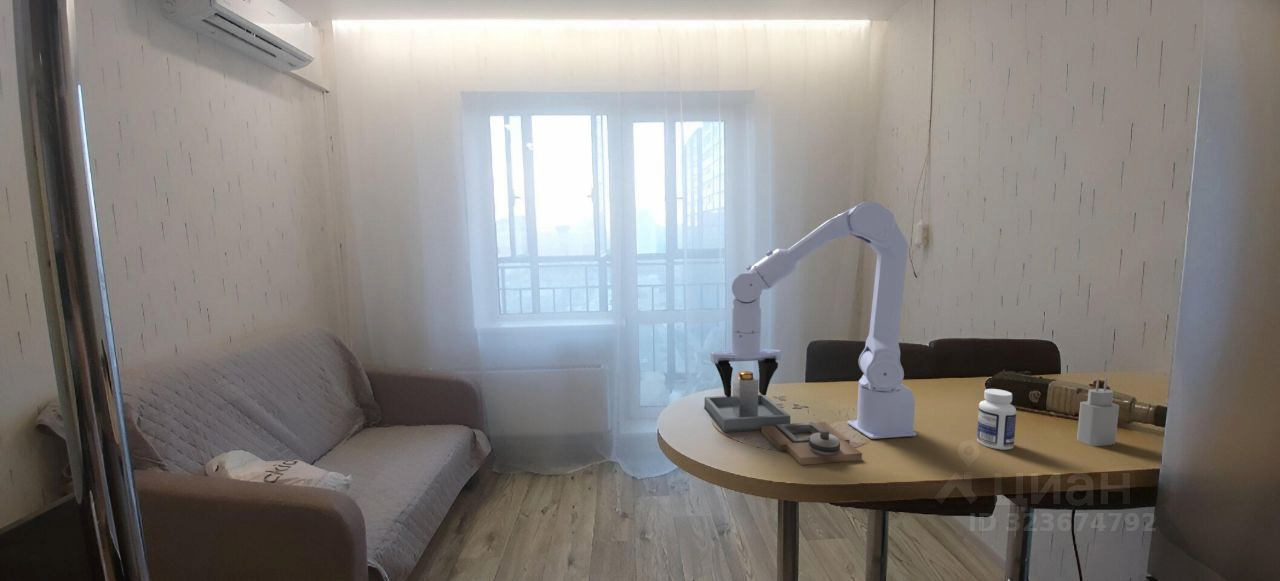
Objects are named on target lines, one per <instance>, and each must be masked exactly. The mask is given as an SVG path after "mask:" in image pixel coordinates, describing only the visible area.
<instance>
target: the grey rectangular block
mask: <svg viewBox="0 0 1280 581" xmlns="http://www.w3.org/2000/svg"><path fill="white" fill-rule="evenodd" d="M758 394H759V378H757V377H755V376H754V372H752V371H750V370H749V371H748V370H741V371H738V374H737V375H733V374H732V396H733V413H734V414H735V415H736V416H737V417H738V418H739V417H755V416H758Z"/></svg>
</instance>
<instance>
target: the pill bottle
mask: <svg viewBox="0 0 1280 581" xmlns="http://www.w3.org/2000/svg"><path fill="white" fill-rule="evenodd" d="M983 396H984V399H985V400H981V401H980V402H979V403H978V413H977V417H978V418H977V430H976V431H977V432H976V439H977V442H978V443H979V444H980V445H982V446H984V447H987V448H991V449H995V450H1003V451H1007V450H1012V449H1014V446H1015V437H1016V436H1015V435H1016V423H1017V420H1016V419H1017V409H1016V407H1015V406H1014V404H1011V403H1012V401H1013V393H1012V392H1010V391H1008V390H1003V389H997V388H986V389H985V390H984V394H983Z"/></svg>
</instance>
